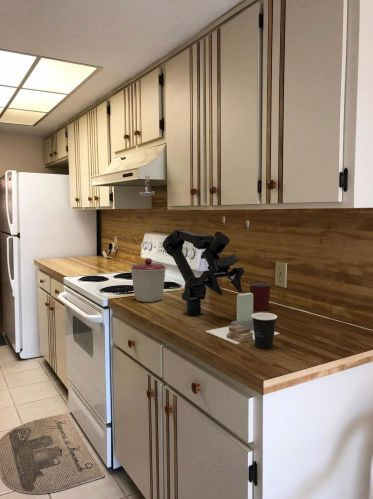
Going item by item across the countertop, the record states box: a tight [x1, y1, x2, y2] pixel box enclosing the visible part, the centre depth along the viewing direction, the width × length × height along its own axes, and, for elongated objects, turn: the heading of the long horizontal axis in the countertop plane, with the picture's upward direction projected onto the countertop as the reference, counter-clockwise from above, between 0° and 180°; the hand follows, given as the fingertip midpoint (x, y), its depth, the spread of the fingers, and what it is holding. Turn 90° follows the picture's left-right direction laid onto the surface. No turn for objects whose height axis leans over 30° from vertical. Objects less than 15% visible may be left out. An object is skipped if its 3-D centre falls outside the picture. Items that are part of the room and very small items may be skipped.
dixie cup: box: [252, 312, 278, 350], centre depth 129 cm, size 8×8×11 cm
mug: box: [249, 282, 271, 312], centre depth 184 cm, size 12×9×11 cm
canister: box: [129, 257, 167, 303], centre depth 201 cm, size 18×18×21 cm
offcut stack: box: [227, 325, 254, 344], centre depth 136 cm, size 7×6×4 cm
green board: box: [236, 292, 254, 324], centre depth 147 cm, size 2×6×13 cm, turn 123°
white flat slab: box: [205, 320, 280, 345], centre depth 144 cm, size 17×20×4 cm
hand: (231, 293), depth 152 cm, fingers open, 9 cm apart
